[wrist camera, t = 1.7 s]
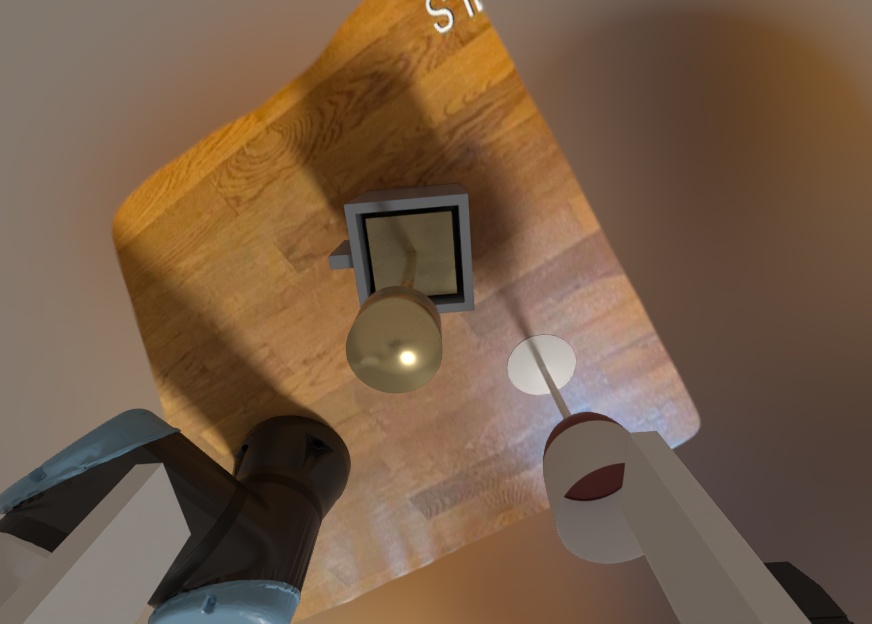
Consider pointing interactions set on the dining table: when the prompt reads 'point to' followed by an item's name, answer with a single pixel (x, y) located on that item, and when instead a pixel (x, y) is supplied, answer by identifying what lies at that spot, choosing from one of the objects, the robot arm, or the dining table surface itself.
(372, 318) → the plunger
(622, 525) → the wineglass
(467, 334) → the dining table surface
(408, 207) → the press pot
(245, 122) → the dining table surface
